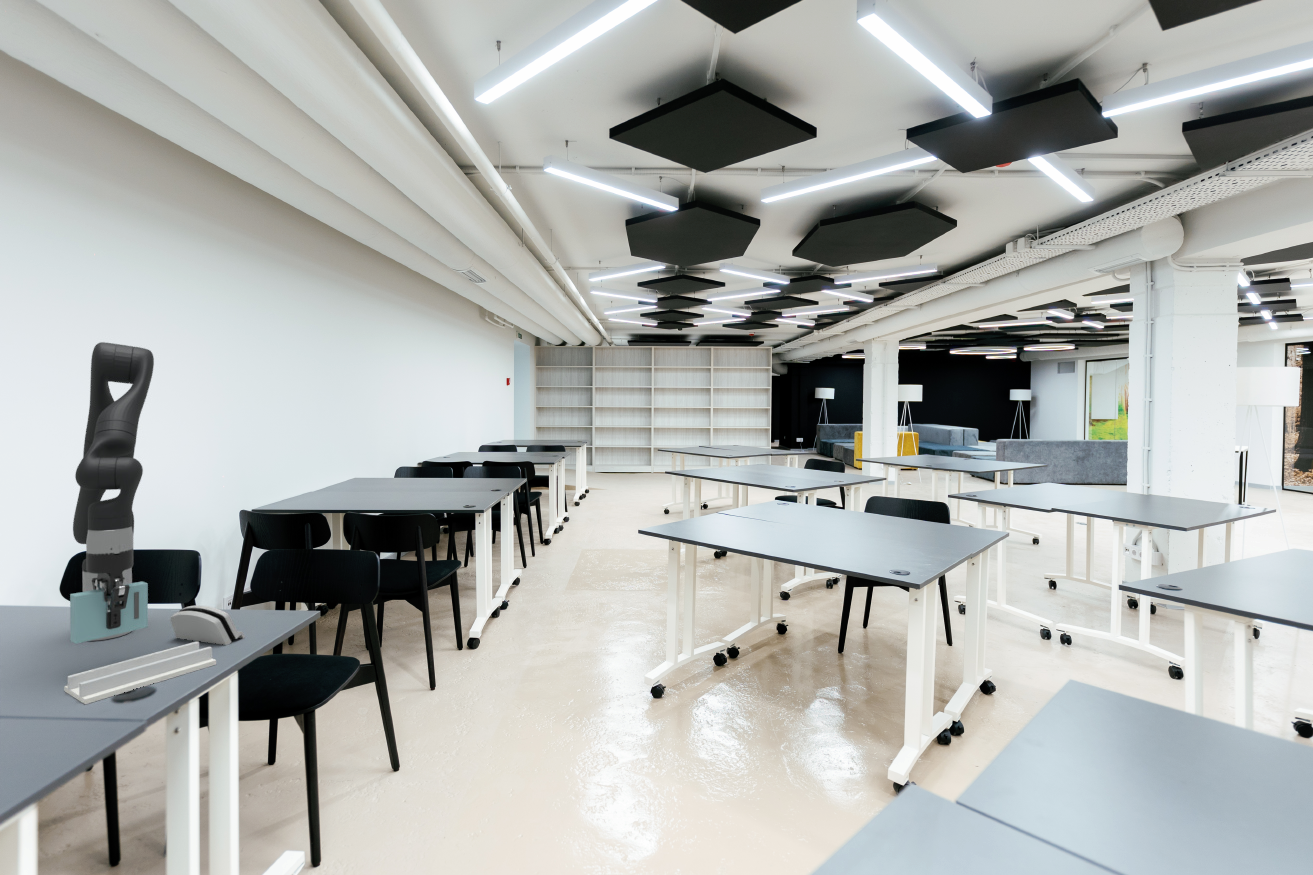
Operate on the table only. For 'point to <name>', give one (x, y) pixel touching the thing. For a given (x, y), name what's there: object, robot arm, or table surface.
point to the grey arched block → (204, 625)
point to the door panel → (92, 613)
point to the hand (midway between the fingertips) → (110, 625)
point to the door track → (138, 672)
